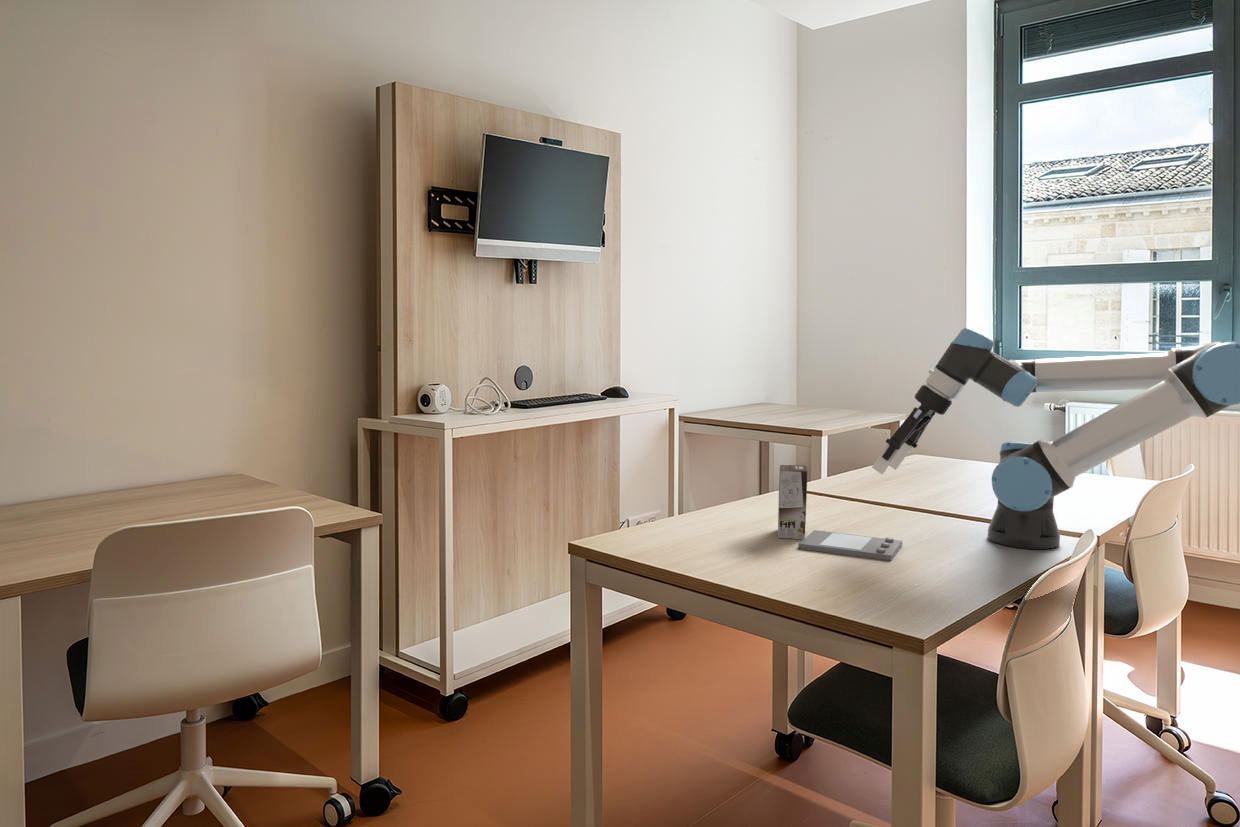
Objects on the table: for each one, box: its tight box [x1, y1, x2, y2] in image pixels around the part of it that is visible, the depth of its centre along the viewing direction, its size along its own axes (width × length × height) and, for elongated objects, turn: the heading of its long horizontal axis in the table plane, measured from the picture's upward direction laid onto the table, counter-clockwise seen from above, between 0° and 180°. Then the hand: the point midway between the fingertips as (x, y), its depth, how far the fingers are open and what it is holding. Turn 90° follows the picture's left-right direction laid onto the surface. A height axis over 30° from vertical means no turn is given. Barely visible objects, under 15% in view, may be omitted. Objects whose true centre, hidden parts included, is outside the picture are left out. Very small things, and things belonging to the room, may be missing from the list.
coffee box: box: [777, 464, 808, 540], centre depth 202 cm, size 9×6×16 cm
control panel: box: [797, 529, 903, 561], centre depth 192 cm, size 20×14×2 cm
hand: (884, 468), depth 198 cm, fingers open, 13 cm apart
